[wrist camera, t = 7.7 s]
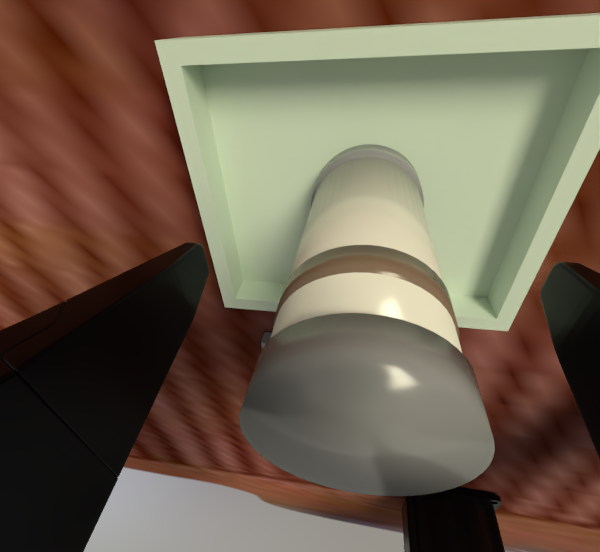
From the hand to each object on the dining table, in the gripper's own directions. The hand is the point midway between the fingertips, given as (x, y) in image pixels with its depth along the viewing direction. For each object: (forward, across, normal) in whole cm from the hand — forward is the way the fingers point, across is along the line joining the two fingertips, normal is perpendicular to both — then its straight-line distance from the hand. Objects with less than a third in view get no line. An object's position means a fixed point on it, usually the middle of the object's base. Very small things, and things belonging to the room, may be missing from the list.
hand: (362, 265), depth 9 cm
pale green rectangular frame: (+5, 0, 0) cm, 5 cm away
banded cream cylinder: (+4, 0, 0) cm, 4 cm away
